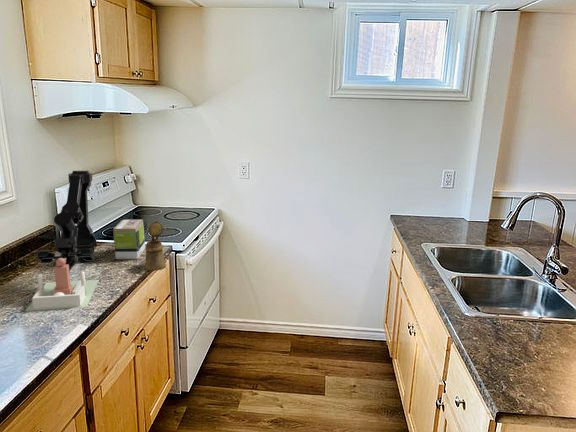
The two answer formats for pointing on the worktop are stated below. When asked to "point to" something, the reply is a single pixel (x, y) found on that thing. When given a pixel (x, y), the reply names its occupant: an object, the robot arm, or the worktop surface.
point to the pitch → (76, 287)
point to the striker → (62, 277)
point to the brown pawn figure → (155, 249)
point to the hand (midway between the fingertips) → (64, 276)
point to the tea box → (129, 239)
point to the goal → (58, 296)
